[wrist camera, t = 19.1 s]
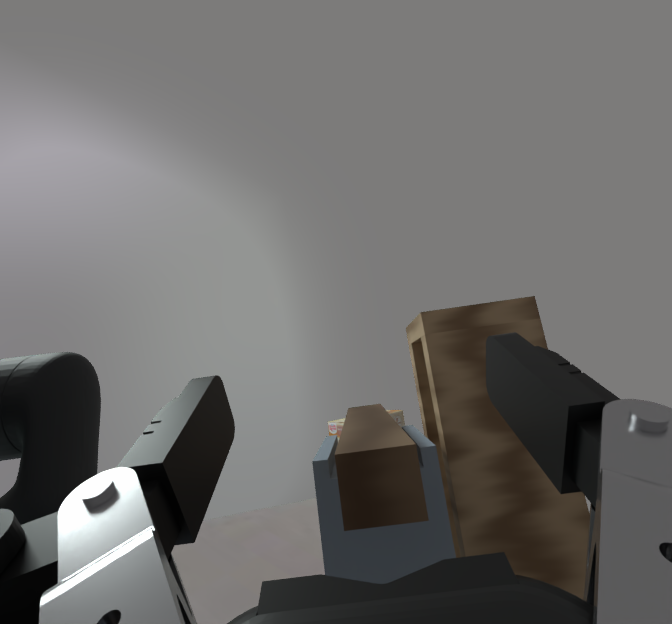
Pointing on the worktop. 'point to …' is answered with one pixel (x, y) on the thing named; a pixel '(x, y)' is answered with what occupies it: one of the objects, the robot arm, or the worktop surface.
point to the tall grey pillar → (387, 541)
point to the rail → (378, 471)
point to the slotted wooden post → (492, 448)
